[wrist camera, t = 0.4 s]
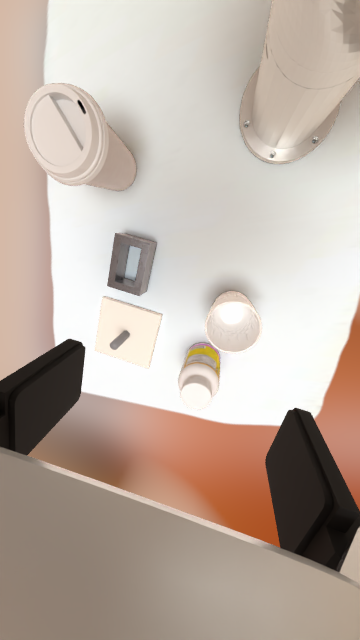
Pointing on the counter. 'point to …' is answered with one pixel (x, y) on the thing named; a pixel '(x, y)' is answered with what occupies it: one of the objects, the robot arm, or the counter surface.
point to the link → (120, 260)
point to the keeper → (127, 331)
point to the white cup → (233, 323)
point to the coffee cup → (76, 139)
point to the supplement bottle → (199, 376)
